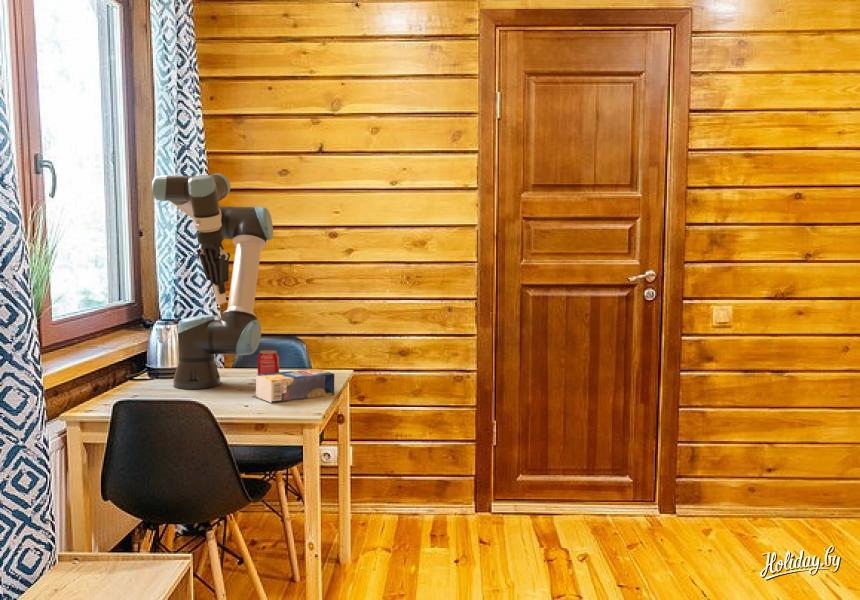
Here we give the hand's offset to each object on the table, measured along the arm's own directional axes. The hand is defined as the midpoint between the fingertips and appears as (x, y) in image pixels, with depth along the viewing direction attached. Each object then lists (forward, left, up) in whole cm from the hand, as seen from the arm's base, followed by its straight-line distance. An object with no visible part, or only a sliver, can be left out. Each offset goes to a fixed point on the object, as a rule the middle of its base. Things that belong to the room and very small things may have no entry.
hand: (221, 302), depth 228 cm
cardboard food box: (+11, +7, -26) cm, 29 cm away
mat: (+11, +16, -30) cm, 36 cm away
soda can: (-3, +21, -30) cm, 37 cm away
